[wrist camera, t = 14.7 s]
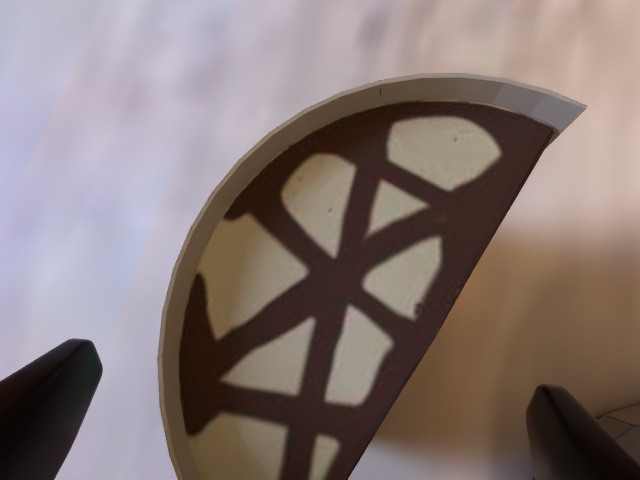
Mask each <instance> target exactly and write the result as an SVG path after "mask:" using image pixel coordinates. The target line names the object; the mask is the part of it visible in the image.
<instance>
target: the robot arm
mask: <svg viewBox="0 0 640 480" xmlns="http://www.w3.org/2000/svg"><path fill="white" fill-rule="evenodd" d="M102 371H103V368H102V363H101V361H100V358H99V356H98V353H97V351H96V348H95V346H94V344H93V342H92V341H90V340H85V339H69V340H67V341H65V342H64V343H62V344H60V345H59V346H57V347H56V348H54V349H52V350H51V351H49V352H47V353H46V354H44V355H43V356H41V357H39V358H38V359H36V360H34V361H33V362H31V363H30V364H28V365H26V366H25V367H23V368H21V369H20V370H18V371H17V372H15V373H13V374H12V375H10V376H8V377H7V378H5V379H4V380H2V381H0V480H54V479H55V477H56V475H57V473H58V472H59V470H60V468H61V466H62V464H63V462H64V461H65V459H66V457H67V455H68V453H69V451H70V449H71V447H72V445H73V443H74V440H75V438H76V436H77V434H78V431H79V429H80V427H81V424H82V422H83V419H84V417H85V415H86V412H87V410H88V408H89V405H90V403H91V400H92V398H93V396H94V393H95V391H96V389H97V386H98V384H99V382H100V379H101V376H102ZM526 425H527V431H528V437H529V443H530V449H531V454H532V460H533V466H534V472H535V477H536V480H640V463H639V462H638V461H637V460H636V459H635V458H634V457H633V456H632V455H631V454H630V453H629V452H628V451H627V450H626V449H625V448H624V447H623V446H622V445H621V444H620V443H619V442H618V441H617V440H616V439H615V438H614V437H613V436H612V435H611V434H610V433H609V432H608V431H607V430H606V429H605V428H604V427H603V426H602V425H601V424H600V423H599V422H598V421H597V420H596V419H595V418H594V417H593V416H592V415H591V414H590V413H589V412H588V411H587V410H586V409H585V408H584V407H583V406H582V405H581V404H580V403H579V402H578V401H577V400H576V399H575V398H574V397H573V396H572V395H571V394H570V393H569V392H568V391H567V390H566V389H565V388H563V387H561V386H558V385H547V384H540V385H539V386H537V388H536V390H535V392H534V394H533V396H532V399H531V401H530V403H529V405H528V407H527V410H526Z"/></svg>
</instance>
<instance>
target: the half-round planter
mask: <svg viewBox="0 0 640 480" xmlns="http://www.w3.org/2000/svg"><path fill="white" fill-rule="evenodd" d="M586 107H587V105H584V104H582V103H579V102H577V101H574V100H572V99H570V98H567V97H565V96H562V95H560V94H558V93H555V92H553V91H550V90H547V89H544V88H540V87H536V86H532V85H529V84H525V83H521V82H517V81H514V80H510V79H506V78H498V77H490V76H482V75H474V74H466V73H446V74H417V75H411V76H404V77H398V78H392V79H385V80H379V81H376V82H373V83H370V84H366V85H363V86H360V87H357V88H353V89H350V90H347V91H343V92H340V93H338V94H336V95H334V96H332V97H330V98H328V99H326V100H323V101H321V102H319V103H317V104H315V105H313V106H311V107H309V108H306V109H304V110H303V111H301V112H300V113H298V114H297V115H295V116H294V117H292V118H291V119H289V120H288V121H286V122H285V123H283V124H282V125H280V126H279V127H277V128H275V129H274V130H272V131H271V132H269V133H268V134H267V135H266V136H265V137H264V138H263V139H262V140H261V141H259V142H258V143H257V144H256V145H255V146H254V147H253V148H252V149H251V150H249V151H248V152H247V153H246V154H245V155H244V156H243V157H242V158H240V159H239V160H238V162H237V163H236V164H235V165H234V166H233V168H232V169H231V170H230V171H229V172H228V174H227V175H226V176H225V177H224V179H223V180H222V181H221V182H220V183H219V185H218V186H217V187H216V188H215V189H214V191H213V192H212V193H211V195H210V197H209V198H208V200H207V202H206V203H205V205H204V206H203V208H202V210H201V211H200V213H199V215H198V216H197V218H196V220H195V221H194V223H193V225H192V226H191V228H190V230H189V232H188V235H187V237H186V240H185V242H184V244H183V247H182V249H181V252H180V254H179V256H178V259H177V261H176V264H175V266H174V268H173V272H172V276H171V280H170V283H169V287H168V291H167V295H166V299H165V303H164V307H163V311H162V319H161V329H160V339H159V349H158V359H157V360H158V381H159V401H160V410H161V416H162V421H163V426H164V431H165V436H166V441H167V446H168V451H169V456H170V458H171V461H172V464H173V467H174V470H175V472H176V475H177V478H178V480H348V478H349V476H350V475H351V473H352V471H353V470H354V468H355V466H356V465H357V463H358V462H359V460H360V458H361V457H362V455H363V453H364V452H365V450H366V448H367V447H368V445H369V443H370V442H371V440H372V438H373V437H374V435H375V433H376V432H377V430H378V428H379V427H380V425H381V423H382V422H383V420H384V419H385V417H386V415H387V414H388V412H389V410H390V409H391V407H392V405H393V404H394V402H395V401H396V399H397V397H398V396H399V394H400V393H401V391H402V389H403V388H404V386H405V385H406V383H407V382H408V380H409V378H410V377H411V375H412V374H413V372H414V370H415V369H416V367H417V366H418V364H419V362H420V361H421V359H422V358H423V356H424V354H425V353H426V351H427V350H428V348H429V346H430V345H431V343H432V342H433V340H434V339H435V337H436V335H437V333H438V332H439V330H440V328H441V326H442V324H443V323H444V321H445V319H446V317H447V316H448V314H449V312H450V310H451V308H452V307H453V305H454V303H455V301H456V299H457V298H458V296H459V294H460V292H461V291H462V289H463V287H464V285H465V283H466V282H467V280H468V278H469V277H470V275H471V273H472V271H473V270H474V268H475V266H476V265H477V263H478V261H479V260H480V258H481V256H482V254H483V253H484V251H485V249H486V248H487V246H488V244H489V243H490V241H491V239H492V238H493V236H494V234H495V232H496V231H497V229H498V227H499V226H500V224H501V222H502V221H503V219H504V217H505V216H506V214H507V212H508V211H509V209H510V207H511V206H512V204H513V202H514V200H515V199H516V197H517V195H518V194H519V192H520V190H521V189H522V187H523V185H524V184H525V182H526V180H527V179H528V177H529V175H530V173H531V172H532V170H533V168H534V167H535V165H536V163H537V161H538V160H539V158H540V156H541V155H542V153H543V151H544V150H545V149H546V148H547V147H548V146H549V145H550V144H551V143H552V142H553V141H554V140H555V139H556V138H557V137H558V136H559V135H560V134H561V133H562V132H563V131H564V130H565V129H566V128H567V127H568V126H569V125H570V124H571V123H572V122H573V121H574V120H575V119H576V118H577V117H578V116H579V115H580V114H581V113H582V112H583V111H584V110H585V109H586Z"/></svg>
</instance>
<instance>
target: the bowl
mask: <svg viewBox="0 0 640 480" xmlns="http://www.w3.org/2000/svg"><path fill="white" fill-rule="evenodd" d="M597 421H598V422H599V423H600V424H601V425H602V426H603V427H604V428H605V429H606V430H607V431H608V432H609V433H610V434H611V435H612V436H613V437H614V438H615V439H616V440H617V441H618V442H619V443H620V444H621V445H622V446H623V447H624V448H625V449H626V450H627V451H628V452H629V453H630V454H631V455H632V456H633V457H634V458H635V459H636V460H637V461H638V462H639V463H640V404H639V405H636V406H632V407H629V408H625V409H622V410H618V411H615V412H611V413H608V414H605V415H604V416H602V417H601V418H599V419H598V420H597ZM532 480H536V477H535V476H534V477H533V479H532Z"/></svg>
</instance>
